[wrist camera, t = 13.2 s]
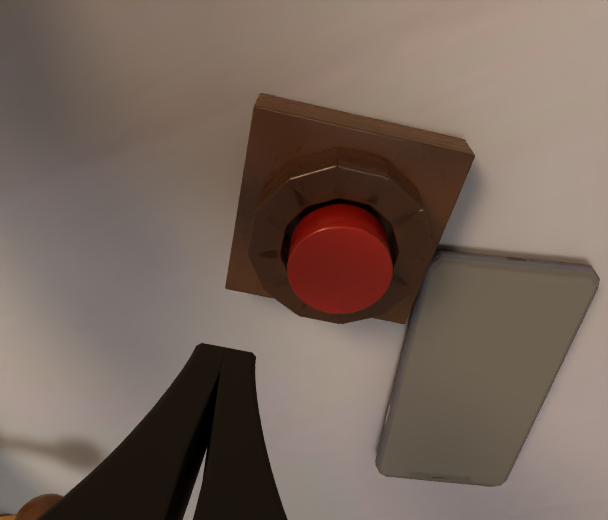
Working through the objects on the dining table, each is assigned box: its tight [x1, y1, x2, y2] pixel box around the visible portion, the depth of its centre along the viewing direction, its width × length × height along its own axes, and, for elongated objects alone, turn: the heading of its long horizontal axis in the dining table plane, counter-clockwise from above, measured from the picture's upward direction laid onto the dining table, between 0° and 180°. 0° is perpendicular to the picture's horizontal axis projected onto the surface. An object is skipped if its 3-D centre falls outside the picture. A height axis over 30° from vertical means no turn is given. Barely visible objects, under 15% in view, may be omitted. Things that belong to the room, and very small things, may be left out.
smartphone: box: [375, 251, 600, 487], centre depth 25 cm, size 8×1×15 cm
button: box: [287, 203, 393, 314], centre depth 18 cm, size 4×4×2 cm
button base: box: [225, 93, 475, 324], centre depth 20 cm, size 8×8×4 cm
